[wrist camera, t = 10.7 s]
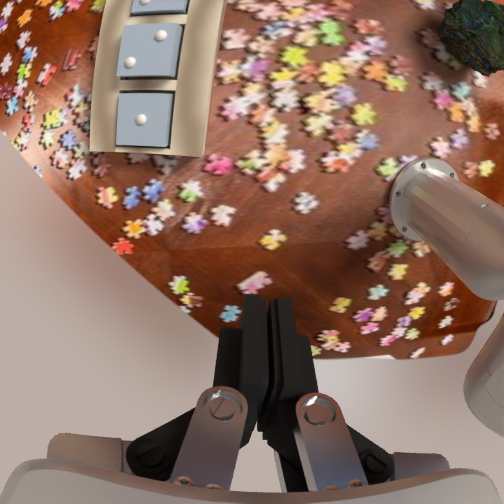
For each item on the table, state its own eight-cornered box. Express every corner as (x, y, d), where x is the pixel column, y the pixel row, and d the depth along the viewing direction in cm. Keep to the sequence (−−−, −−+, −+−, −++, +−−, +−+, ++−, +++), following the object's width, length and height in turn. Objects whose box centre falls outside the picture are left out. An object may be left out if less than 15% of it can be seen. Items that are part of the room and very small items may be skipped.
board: (232, -26, 24) (230, -37, 21) (205, 152, 35) (201, 157, 32) (124, -22, 23) (113, -30, 20) (101, 146, 34) (89, 151, 31)
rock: (461, -17, 21) (501, -29, 12) (502, 37, 24) (544, 37, 16) (420, 24, 26) (462, 12, 17) (467, 83, 29) (513, 87, 21)
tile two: (182, 27, 25) (177, 22, 23) (175, 76, 28) (168, 75, 26) (131, 29, 25) (123, 25, 23) (125, 77, 28) (115, 76, 25)
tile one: (175, 94, 30) (169, 93, 28) (170, 143, 33) (164, 147, 31) (127, 93, 30) (118, 93, 27) (124, 141, 33) (115, 145, 30)
